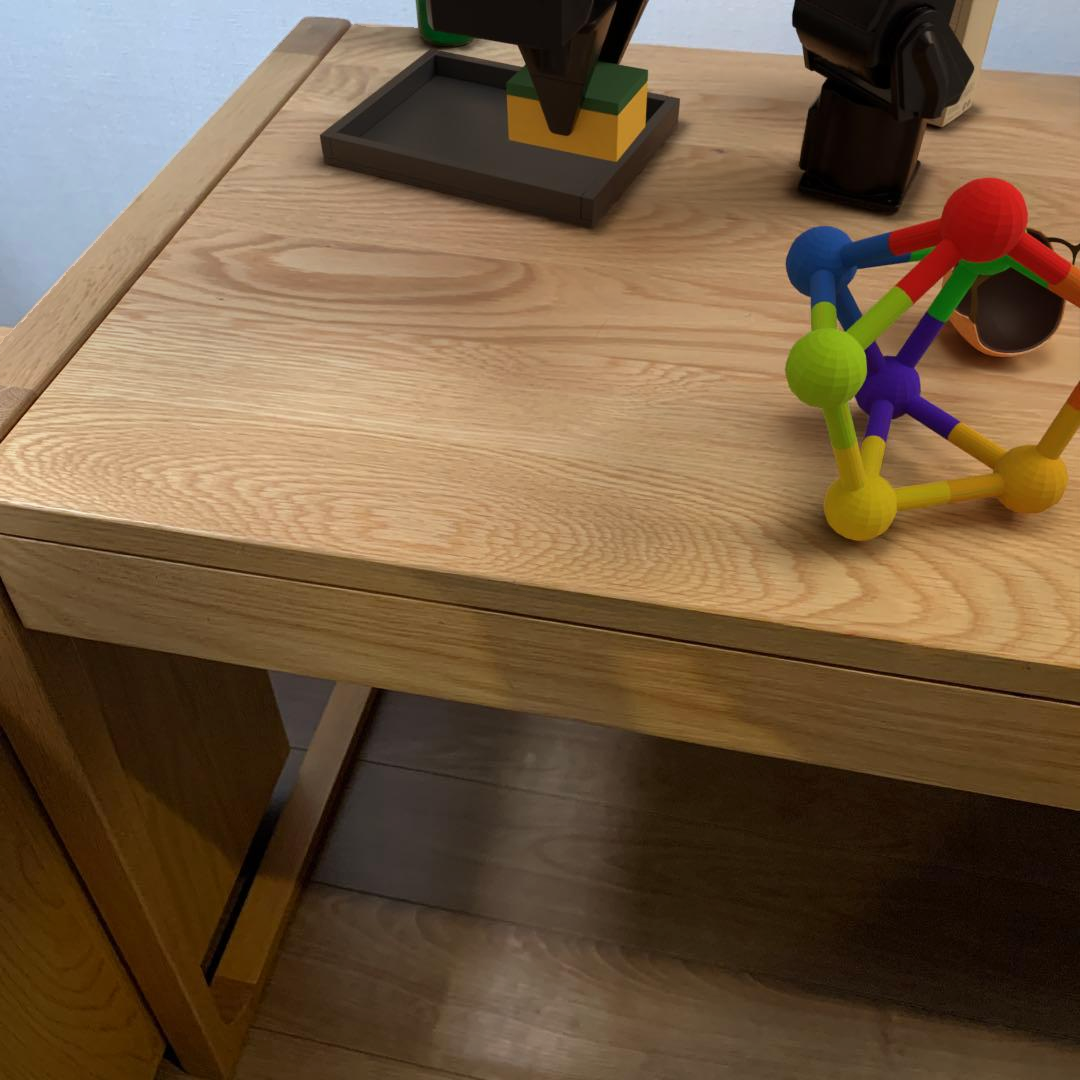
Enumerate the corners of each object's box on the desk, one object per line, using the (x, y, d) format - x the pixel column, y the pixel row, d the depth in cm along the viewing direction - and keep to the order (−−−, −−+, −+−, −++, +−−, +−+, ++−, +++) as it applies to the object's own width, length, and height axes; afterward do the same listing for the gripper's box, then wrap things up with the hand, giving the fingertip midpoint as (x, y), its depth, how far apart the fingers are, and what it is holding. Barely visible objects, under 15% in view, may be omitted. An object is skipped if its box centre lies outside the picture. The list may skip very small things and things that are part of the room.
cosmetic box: (972, 109, 75) (1027, -83, 66) (941, 131, 73) (994, -65, 64) (891, 82, 78) (934, -105, 69) (859, 103, 76) (899, -88, 67)
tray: (678, 126, 74) (680, 97, 73) (592, 229, 65) (593, 199, 64) (432, 75, 80) (430, 48, 79) (324, 163, 71) (319, 134, 70)
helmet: (1129, 307, 50) (1059, 347, 58) (1078, 173, 50) (1015, 231, 58) (1008, 348, 50) (955, 382, 58) (959, 215, 50) (912, 267, 58)
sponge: (541, 106, 57) (539, 50, 55) (645, 127, 56) (648, 69, 53) (508, 140, 55) (505, 82, 53) (616, 162, 53) (618, 103, 51)
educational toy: (931, 351, 57) (1045, 73, 46) (1091, 521, 49) (1275, 236, 38) (669, 408, 53) (722, 118, 42) (797, 604, 45) (906, 311, 34)
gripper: (502, -317, 51) (515, 20, 63) (281, -220, 40) (347, 169, 51) (725, -303, 48) (696, 51, 59) (553, -193, 36) (558, 217, 48)
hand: (578, 114), depth 55 cm, fingers closed on sponge, 4 cm apart
